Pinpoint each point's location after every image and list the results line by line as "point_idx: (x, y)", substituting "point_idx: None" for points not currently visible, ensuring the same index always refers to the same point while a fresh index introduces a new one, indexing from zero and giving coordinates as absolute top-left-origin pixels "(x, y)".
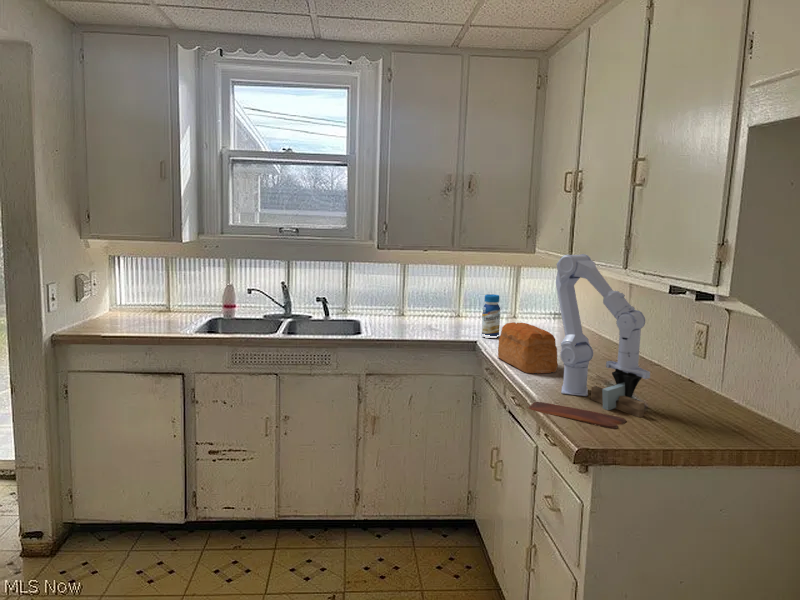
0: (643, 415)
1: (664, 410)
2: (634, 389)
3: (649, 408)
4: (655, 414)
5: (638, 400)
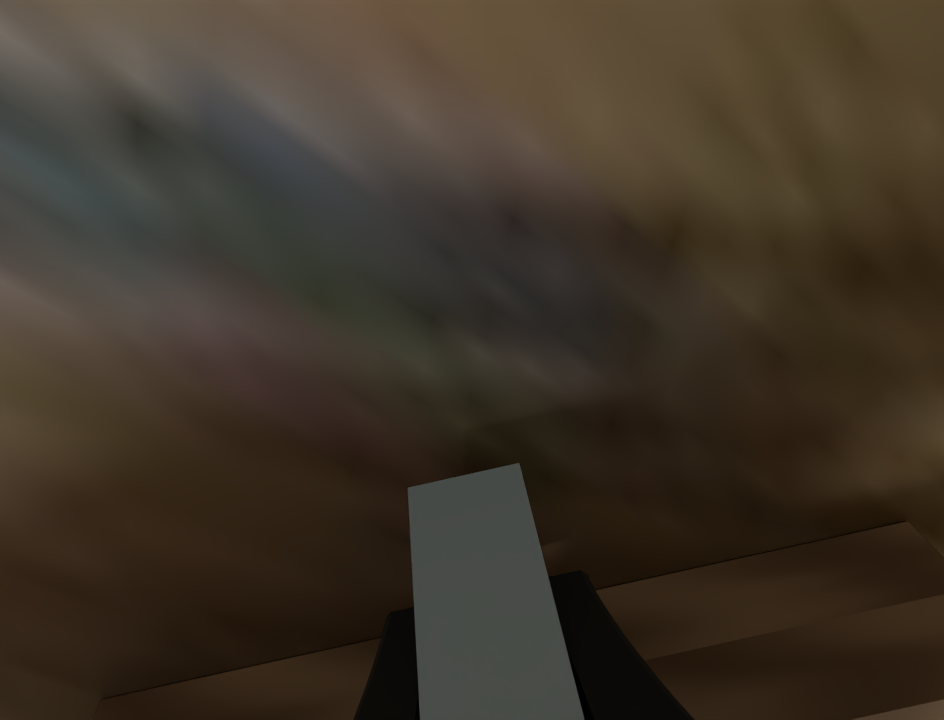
0: (914, 532)
1: (875, 22)
2: (660, 685)
3: (688, 227)
4: (934, 327)
5: (933, 703)
